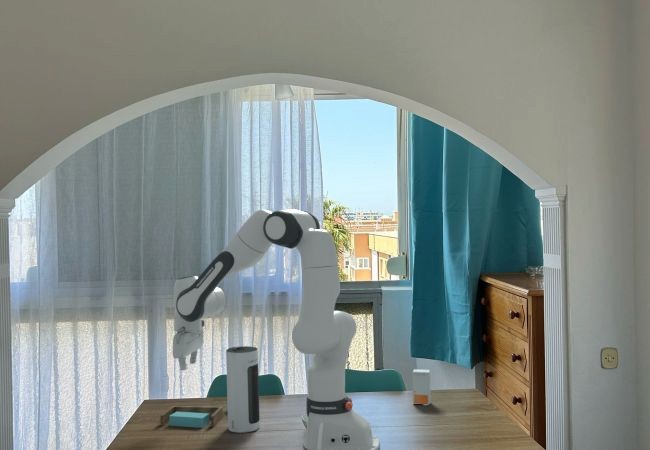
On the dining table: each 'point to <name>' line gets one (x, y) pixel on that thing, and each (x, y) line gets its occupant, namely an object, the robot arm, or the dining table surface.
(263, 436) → the dining table surface
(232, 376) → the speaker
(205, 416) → the turquoise rectangular block
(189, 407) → the walnut box
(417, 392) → the skincare box
